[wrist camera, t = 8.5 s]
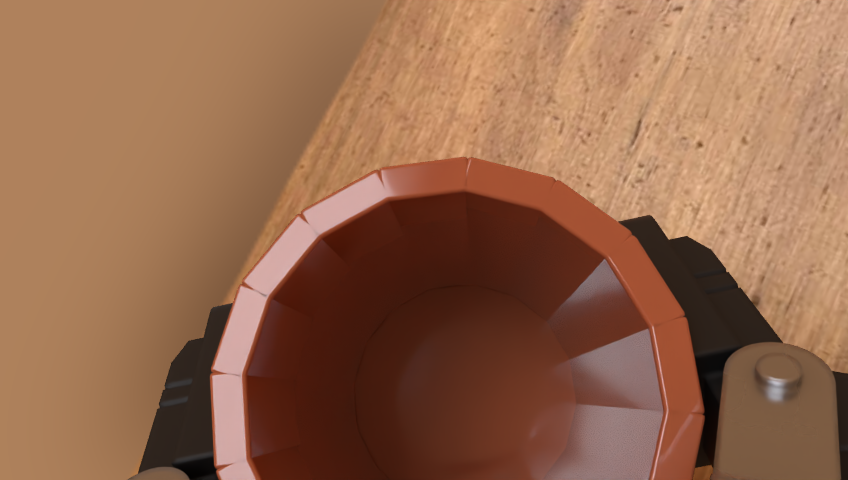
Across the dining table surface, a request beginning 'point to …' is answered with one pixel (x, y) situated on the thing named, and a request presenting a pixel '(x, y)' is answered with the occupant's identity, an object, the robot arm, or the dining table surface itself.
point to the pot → (455, 340)
